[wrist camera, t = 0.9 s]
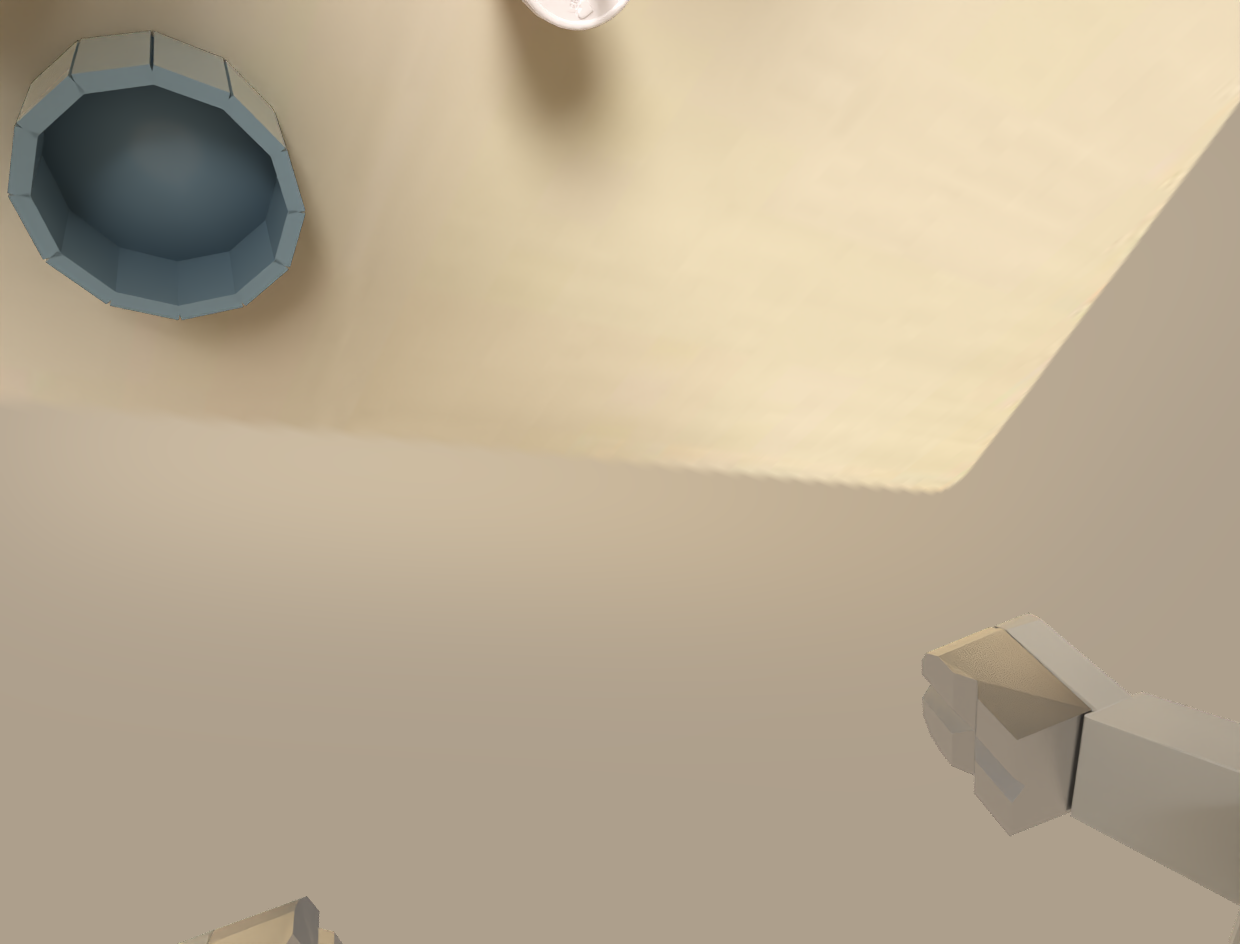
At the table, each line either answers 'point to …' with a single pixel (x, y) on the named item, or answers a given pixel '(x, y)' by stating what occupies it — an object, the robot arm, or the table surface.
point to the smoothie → (576, 12)
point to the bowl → (155, 177)
